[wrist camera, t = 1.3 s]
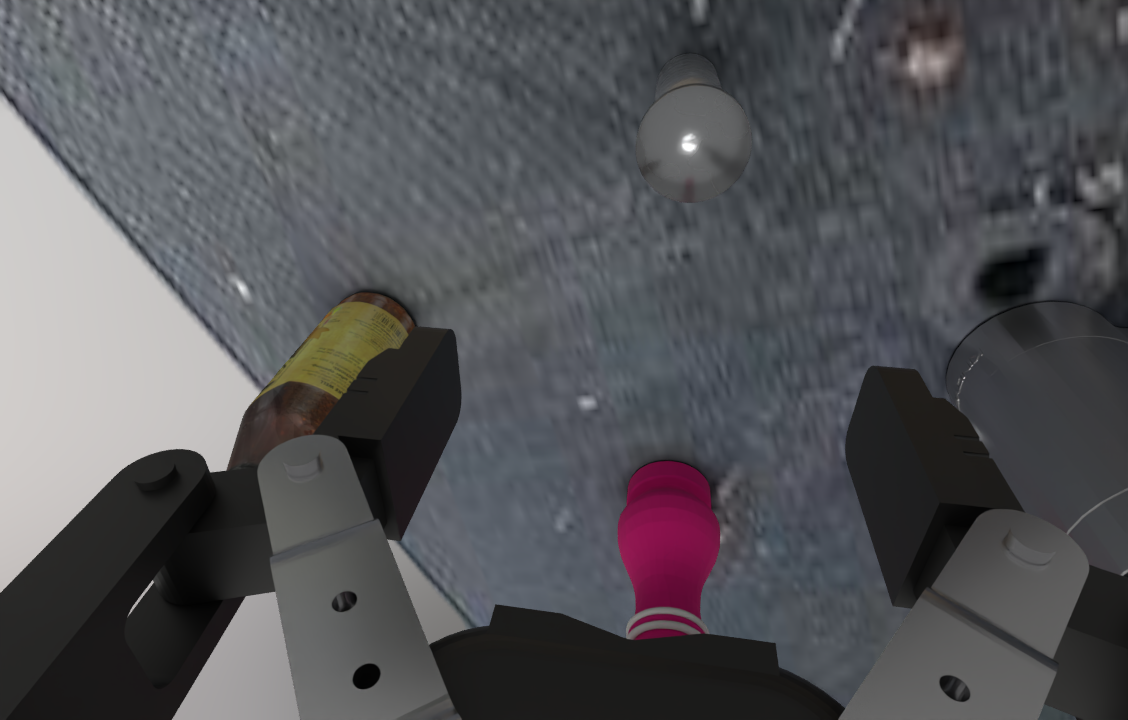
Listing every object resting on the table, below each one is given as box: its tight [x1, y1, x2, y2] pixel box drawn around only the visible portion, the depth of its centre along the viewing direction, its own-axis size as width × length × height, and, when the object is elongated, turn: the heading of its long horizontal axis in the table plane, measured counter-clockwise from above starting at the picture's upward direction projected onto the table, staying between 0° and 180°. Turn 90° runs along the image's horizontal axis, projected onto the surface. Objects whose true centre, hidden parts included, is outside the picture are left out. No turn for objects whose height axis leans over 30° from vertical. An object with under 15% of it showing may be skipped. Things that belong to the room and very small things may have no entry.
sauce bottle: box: [227, 293, 415, 471], centre depth 37 cm, size 7×6×20 cm
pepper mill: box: [618, 461, 720, 640], centre depth 41 cm, size 7×7×20 cm
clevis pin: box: [636, 53, 752, 203], centre depth 29 cm, size 4×4×12 cm
